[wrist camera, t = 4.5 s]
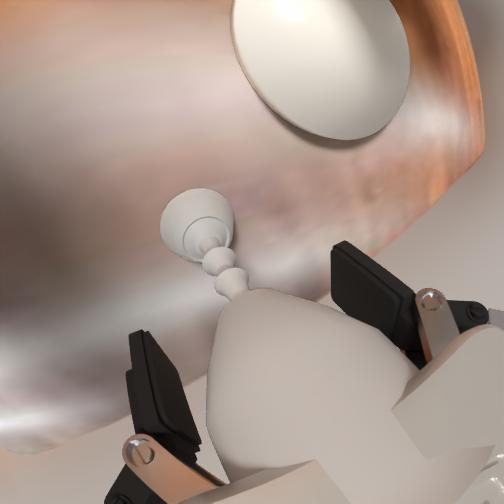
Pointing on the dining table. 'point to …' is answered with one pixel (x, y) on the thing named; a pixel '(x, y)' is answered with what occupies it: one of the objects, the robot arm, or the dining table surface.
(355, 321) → the chalice
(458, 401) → the robot arm
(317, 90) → the plate
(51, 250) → the dining table surface
